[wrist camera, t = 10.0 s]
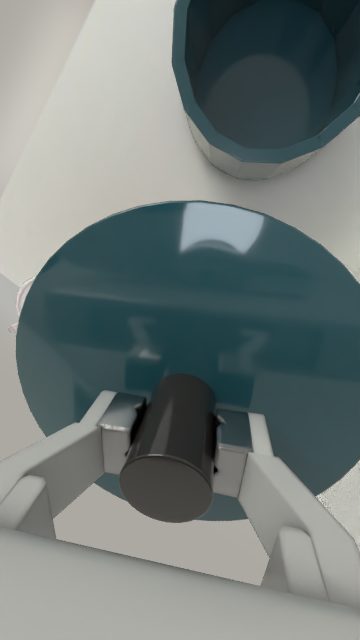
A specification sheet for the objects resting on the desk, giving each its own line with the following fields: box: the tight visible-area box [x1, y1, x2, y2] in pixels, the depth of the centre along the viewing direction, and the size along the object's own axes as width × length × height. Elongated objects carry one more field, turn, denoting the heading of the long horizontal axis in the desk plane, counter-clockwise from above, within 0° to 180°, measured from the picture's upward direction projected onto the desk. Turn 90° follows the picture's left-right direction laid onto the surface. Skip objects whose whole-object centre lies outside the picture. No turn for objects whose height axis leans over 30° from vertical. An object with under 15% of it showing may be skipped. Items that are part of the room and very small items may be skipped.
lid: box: [16, 201, 360, 523], centre depth 8 cm, size 14×14×5 cm
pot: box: [172, 0, 360, 180], centre depth 18 cm, size 13×13×8 cm
